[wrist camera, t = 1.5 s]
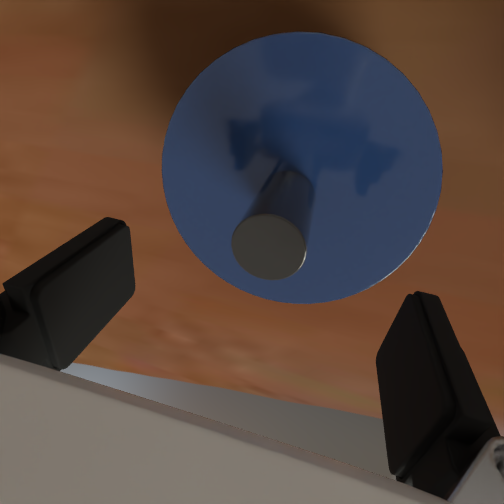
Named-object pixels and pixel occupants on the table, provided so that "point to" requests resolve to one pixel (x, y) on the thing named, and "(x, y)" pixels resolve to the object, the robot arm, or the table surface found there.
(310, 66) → the lid
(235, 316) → the table surface
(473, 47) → the table surface
